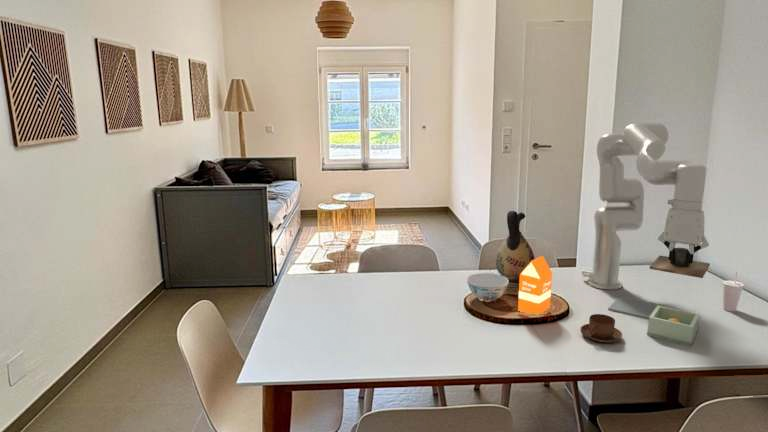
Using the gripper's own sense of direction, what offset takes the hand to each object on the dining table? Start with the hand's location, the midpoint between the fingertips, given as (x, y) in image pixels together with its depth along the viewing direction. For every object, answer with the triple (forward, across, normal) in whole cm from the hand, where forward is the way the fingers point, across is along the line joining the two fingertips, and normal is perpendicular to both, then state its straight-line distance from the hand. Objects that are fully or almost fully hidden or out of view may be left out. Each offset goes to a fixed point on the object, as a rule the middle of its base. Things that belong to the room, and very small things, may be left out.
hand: (680, 263), depth 160 cm
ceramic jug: (+23, -60, +14) cm, 66 cm away
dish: (+23, 0, 0) cm, 23 cm away
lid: (+1, 0, 0) cm, 1 cm away
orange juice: (+23, -41, -11) cm, 48 cm away
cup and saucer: (+23, -17, -16) cm, 33 cm away
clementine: (+20, 0, 0) cm, 20 cm away
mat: (+23, -14, +15) cm, 31 cm away
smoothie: (+23, +12, +33) cm, 42 cm away
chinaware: (+23, -60, -9) cm, 65 cm away
